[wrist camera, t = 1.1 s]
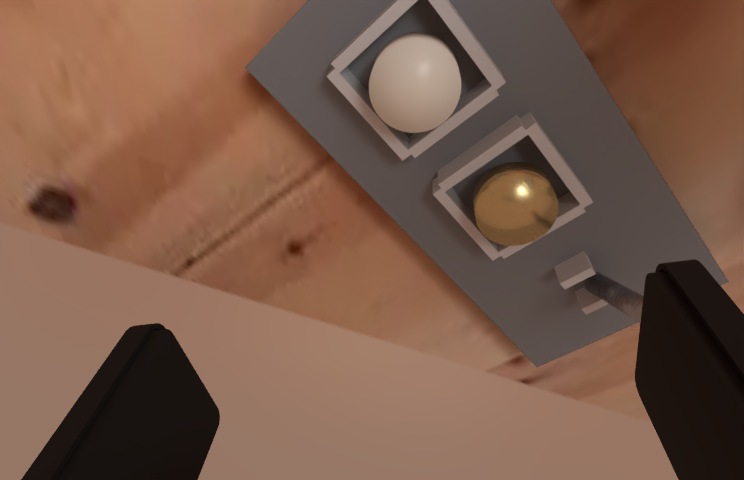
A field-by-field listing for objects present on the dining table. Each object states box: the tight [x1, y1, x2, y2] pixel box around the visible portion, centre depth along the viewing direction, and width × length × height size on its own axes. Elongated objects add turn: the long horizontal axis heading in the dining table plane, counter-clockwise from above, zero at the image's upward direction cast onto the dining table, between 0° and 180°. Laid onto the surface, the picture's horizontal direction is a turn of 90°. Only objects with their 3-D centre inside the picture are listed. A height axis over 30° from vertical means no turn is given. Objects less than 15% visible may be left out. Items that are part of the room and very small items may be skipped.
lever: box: [582, 271, 643, 323], centre depth 31 cm, size 3×3×10 cm
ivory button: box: [369, 32, 461, 133], centre depth 27 cm, size 5×5×2 cm
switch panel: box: [245, 0, 728, 367], centre depth 33 cm, size 16×34×5 cm, turn 42°
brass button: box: [473, 162, 559, 246], centre depth 31 cm, size 5×5×2 cm
